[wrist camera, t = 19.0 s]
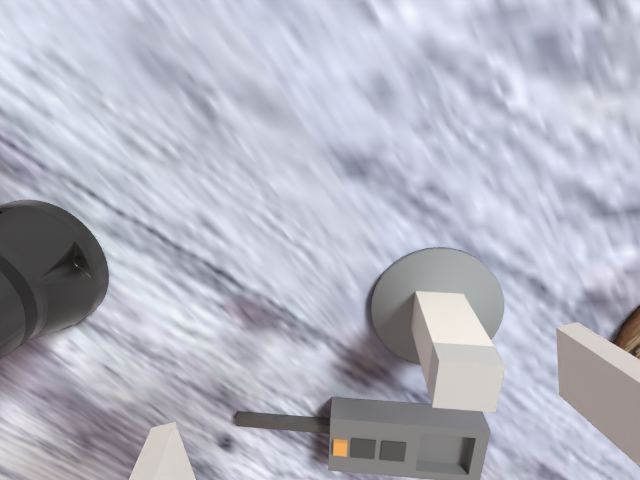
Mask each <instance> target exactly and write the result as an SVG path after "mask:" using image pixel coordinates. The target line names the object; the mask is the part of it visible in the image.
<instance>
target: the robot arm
mask: <svg viewBox="0 0 640 480" xmlns="http://www.w3.org/2000/svg"><path fill="white" fill-rule="evenodd" d="M108 278H109V275H108V266H107V262H106V258H105V256H104V253H103V251H102V249H101V247H100V245H99V243H98V241H97V240H96V238H95V237H94V235H93V234H92V233H91V232H90V231H89V229H88V228H87V227H86V226H85V225H84V224H83V223H82V222H81V221H79V220H78V219H77V218H76V217H74V216H73V215H72V214H70V213H68V212H67V211H65V210H63V209H61V208H59V207H57V206H55V205H52V204H49V203H46V202H42V201H36V200H19V201H14V202H10V203H7V204H3V205H0V360H1V359H3V358H4V357H5V356H7V355H8V354H9V353H11V352H12V351H13V350H15V349H16V348H17V347H19V346H20V345H21V344H23V343H24V342H26V341H28V340H31V339H34V338H37V337H40V336H43V335H46V334H49V333H52V332H55V331H57V330H60V329H65V328H68V327H70V326H72V325H74V324H76V323H78V322H80V321H81V320H83V319H84V318H85V317H86V316H88V315H89V314H90V313H91V312H93V311H94V310H95V309H96V308H97V307H98V306H99V305H100V303H101V302H102V300H103V298H104V297H105V294H106V291H107V287H108ZM556 332H557V354H558V376H559V395H560V396H561V397H562V398H563V399H564V400H565V401H566V402H568V403H569V404H570V405H571V406H572V407H573V408H574V409H575V410H577V411H578V412H579V413H580V414H581V415H582V416H583V417H584V418H586V419H587V420H588V421H589V422H590V423H591V424H592V425H593V426H594V427H596V428H597V429H598V430H599V431H600V432H601V433H602V434H603V435H605V436H606V437H607V438H608V439H609V440H610V441H611V442H612V443H613V444H615V445H616V446H617V447H618V448H619V449H620V450H621V451H622V452H624V453H625V454H626V455H627V456H628V457H629V458H630V459H631V460H632V461H634V462H635V463H636V464H637V465H638V466H639V467H640V360H639V359H638V358H636V357H634V356H633V355H631V354H629V353H628V352H626V351H624V350H623V349H621V348H619V347H618V346H616V345H614V344H613V343H611V342H609V341H608V340H606V339H604V338H603V337H601V336H599V335H598V334H596V333H594V332H593V331H591V330H589V329H588V328H586V327H584V326H583V325H581V324H579V323H578V322H576V323H572V324H568V325H564V326H560V327H556ZM129 480H196V478H195V476H194V473H193V470H192V467H191V464H190V462H189V459H188V456H187V453H186V451H185V448H184V445H183V442H182V440H181V437H180V434H179V431H178V429H177V426H176V423H175V422H172V423H168V424H164V425H160V426H156V427H152V428H151V430H150V432H149V435H148V437H147V439H146V441H145V444H144V446H143V448H142V451H141V453H140V455H139V457H138V460H137V462H136V464H135V467H134V469H133V471H132V473H131V476H130V478H129Z"/></svg>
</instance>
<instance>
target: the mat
mask: <svg viewBox="0 0 640 480" xmlns="http://www.w3.org/2000/svg"><path fill="white" fill-rule="evenodd" d="M415 291H423V292H441V293H459V294H464V296H465V297H466V299H467V301H468V303H469V304H470V306H471V308H472V309H473V311H474V313H475V314H476V316H477V318H478V320H479V321H480V323H481V325H482V326H483V328H484V330H485V331H486V333H487V335H488V336H489V338H490V340H491V339H492V338H493V337H494V335H495V334H496V332H497V330H498V329H499V326H500V324H501V321H502V318H503V313H504V297H503V292H502V289H501V286H500V284H499V282H498V280H497V279H496V277H495V276H494V275H493V273H492V272H491V271H490V269H489V268H488V267H487V266H486V265H485V264H484V263H483V262H481V261H480V260H479V259H477V258H476V257H474V256H472V255H470V254H468V253H466V252H463V251H460V250H456V249H452V248H443V247H439V248H427V249H422V250H418V251H415V252H412V253H410V254H408V255H406V256H404V257H402V258H400V259H399V260H397V261H396V262H394V263H393V264H392V265H391V266H390V267H389V268H388V269H387V270H386V271H385V272H384V273H383V274H382V276H381V277H380V279H379V280H378V282H377V284H376V286H375V289H374V292H373V295H372V301H371V314H372V321H373V325H374V328H375V330H376V333H377V335H378V336H379V338H380V339H381V341H382V342H383V343H384V345H385V346H386V347H387V348H388V349H389V350H391V351H392V352H393V353H395V354H396V355H398V356H399V357H401V358H403V359H405V360H408V361H410V362H413V363H417V364H421V363H420V359H419V355H418V352H417V348H416V344H415V340H414V337H413V333H412V329H411V325H412V316H413V308H414V299H415Z"/></svg>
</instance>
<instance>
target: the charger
mask: <svg viewBox="0 0 640 480" xmlns="http://www.w3.org/2000/svg"><path fill="white" fill-rule="evenodd" d="M411 329H412V333H413V337H414V340H415V344H416V348H417V352H418V355H419V359H420V363H421V367H422V370H423V374H424V378H425V382H426V385H427V389H428V393H429V397H430V400H431V404H432V408H444V409H458V410H471V411H484V412H496V408H497V403H498V399H499V394H500V389H501V385H502V380H503V376H504V371H505V366H506V365H505V364H504V362H503V360H502V358H501V357H500V355H499V353H498V352H497V350H496V348H495V347H494V345H493V343H492V342H491V340H490V338H489V336H488V335H487V333H486V331H485V330H484V328H483V326H482V325H481V323H480V321H479V320H478V318H477V316H476V314H475V313H474V311H473V309H472V308H471V306H470V304H469V303H468V301H467V299H466V297H465V296H464V294H459V293H441V292H423V291H415V299H414V308H413V316H412V325H411Z"/></svg>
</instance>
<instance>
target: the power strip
mask: <svg viewBox="0 0 640 480" xmlns="http://www.w3.org/2000/svg"><path fill="white" fill-rule="evenodd" d="M235 421H236V426H242V427H254V428H266V429H279V430H291V431H303V432H316V433H328V434H330V441H329V465H328V470H330V471H341V472H353V473H364V474H376V475H387V476H398V477H410V478H421V479H433V480H480V477H481V472H482V468H483V463H484V459H485V454H486V449H487V445H488V440H489V436H490V429H489V427H488V424H487V422H486V419H485V417H484V415H483V412H482V411H471V410H458V409H444V408H432V405H431V404H418V403H404V402H391V401H378V400H365V399H351V398H338V397H332V403H331V418H330V419H328V418H315V417H302V416H290V415H277V414H264V413H252V412H239V411H238V413H237V415H236V418H235Z"/></svg>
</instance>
